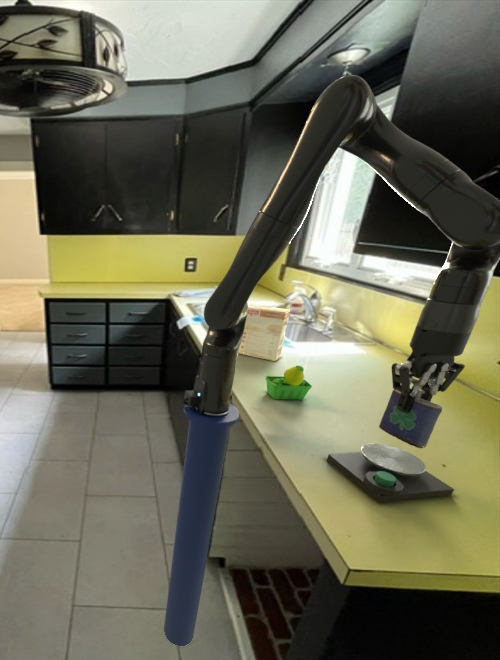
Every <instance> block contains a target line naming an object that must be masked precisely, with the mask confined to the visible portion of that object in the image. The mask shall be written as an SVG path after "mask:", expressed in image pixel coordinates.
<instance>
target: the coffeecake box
mask: <svg viewBox="0 0 500 660" xmlns="http://www.w3.org/2000/svg"><path fill="white" fill-rule="evenodd" d="M290 313H291V309H289V308H281V307H280V308H279V307H273V306H264V305H256V304H250V305H248V312H247V318H246V323H245V329H244V334H243V339H242V342H241V345H240V348H239V352H238V355H243V356H244V355H245V356H249V357H253V358H259V359H263V360H268V361H272V362H276V361H278V360H279V359H280V358H281V355H282V351H283V346H284V341H285V336H286V331H287V327H288V323H289V318H290ZM243 352H244V353H243Z"/></svg>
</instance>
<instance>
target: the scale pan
mask: <svg viewBox="0 0 500 660" xmlns="http://www.w3.org/2000/svg"><path fill="white" fill-rule="evenodd" d="M360 452H361V455H362V456H363V457H364V458H365V459H366V460H367V461H368V462H370V463H371V464H373V465H374V466H376V467H378V468H380V469H383V470H385V471H388V472H391V473H395V474H399V475H404V476H419V475H422V474H423V473H424V472H425V471H427V466H426V464H425V463H424V461H423V460H422V459H420V458H419V457H418V456H417V455H415V454H413V453H412V452H410V451H407V450H404V449H402V448H400V447H396V446H394V445H389V444H385V443H375V442H373V443H366V444H364V445H362V446H361V448H360Z"/></svg>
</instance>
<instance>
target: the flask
mask: <svg viewBox="0 0 500 660" xmlns="http://www.w3.org/2000/svg"><path fill="white" fill-rule="evenodd" d="M423 393H425V391H423V390H420V389H419V391H418V392H417V394H416V395H415V396H416V398H415V401H414V403H413V406H412V408H411V411H410V412H409V413H404V412H402V411H400V410H398V409H397V403H398V401H399V398H400V395H401V392H400V391H398V390H395V389H393V390H392V392H391V394H390V398H389V400H388V403H387V405H386V408H385V410H384V412H383V415H382V418H381V420H380V422H379V425H378V428H379V429H380V430H382V432H385V433H387V434H388V435H390V436H392V437H395V438H396V439H397V440H400V441H402V442H403V443H406V444H408V445H409V446H412V447H415V448H416V449H425V448H426V447H427V446H428V443H429V440H430V438H431V435H432V433H433V431H434V428H435V426H436V424H437V422H438V419H439V417H440V415H441V414H442V412H443V406H442V405H440V404H437V403H434V402H432V401H430V402H429V401H427V400H424V399H422V398H420V397H421V396H422V394H423Z"/></svg>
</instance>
